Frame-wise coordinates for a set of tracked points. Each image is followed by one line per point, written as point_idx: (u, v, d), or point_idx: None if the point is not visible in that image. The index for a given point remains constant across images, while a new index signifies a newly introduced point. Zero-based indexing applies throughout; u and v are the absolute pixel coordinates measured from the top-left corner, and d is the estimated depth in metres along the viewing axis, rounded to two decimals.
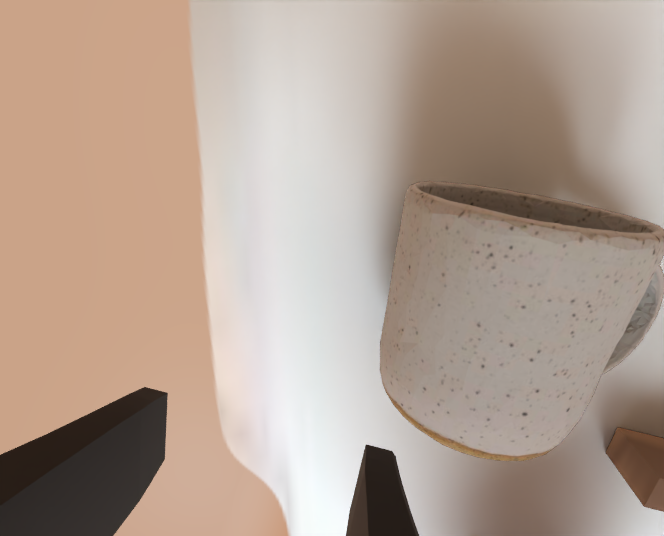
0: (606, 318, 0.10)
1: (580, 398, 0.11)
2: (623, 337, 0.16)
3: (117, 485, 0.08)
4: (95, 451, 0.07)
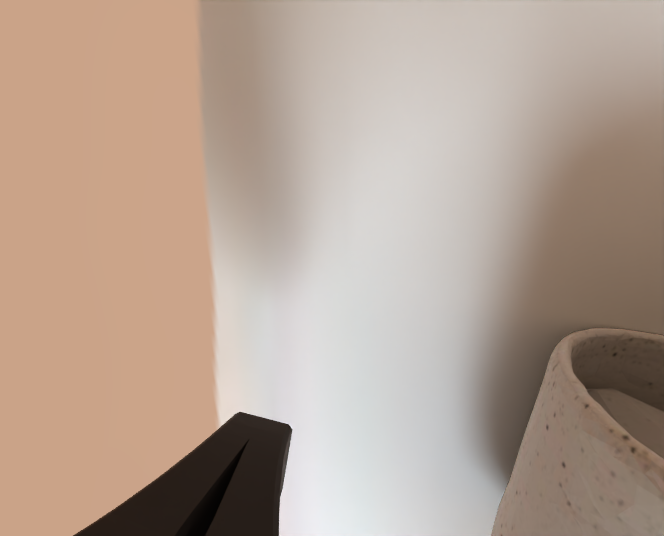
0: None
1: None
2: None
3: None
4: (219, 486, 0.07)
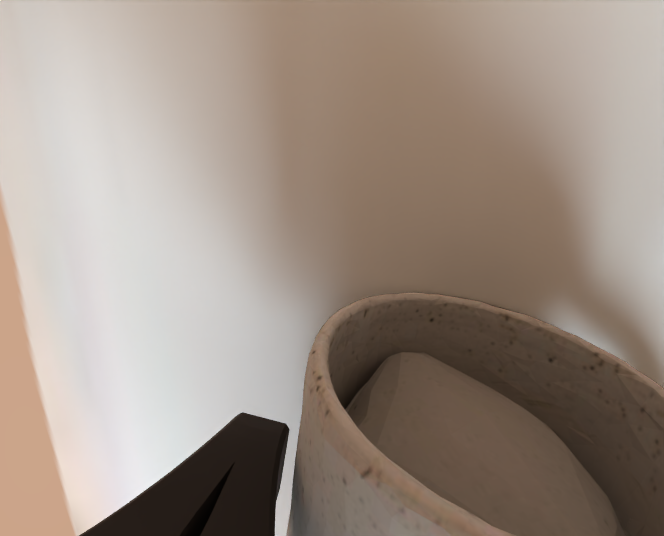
0: None
1: None
2: None
3: None
4: (222, 487, 0.07)
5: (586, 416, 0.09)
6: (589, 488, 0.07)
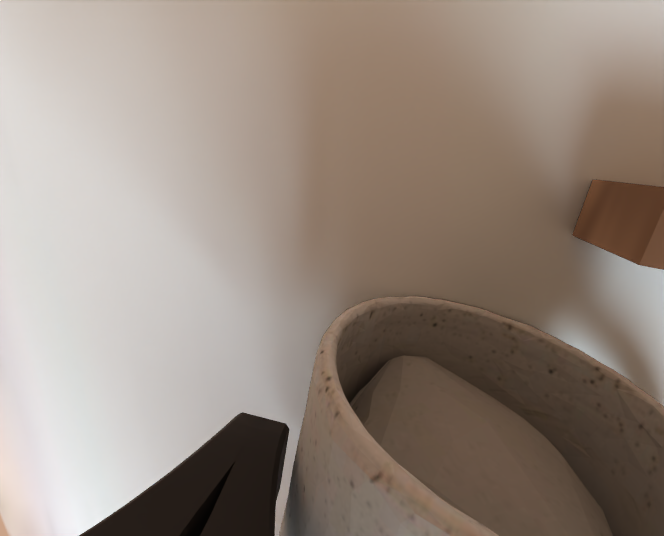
0: None
1: None
2: None
3: None
4: (222, 487, 0.07)
5: (583, 429, 0.10)
6: (586, 501, 0.07)
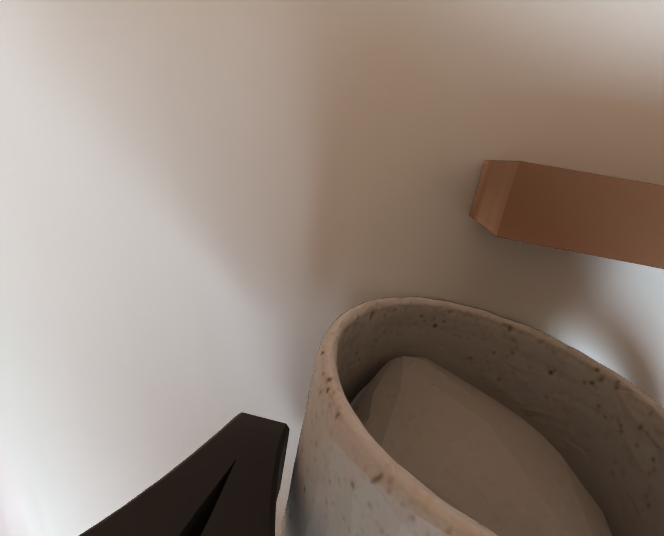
0: None
1: None
2: None
3: None
4: (222, 487, 0.07)
5: (582, 430, 0.10)
6: (585, 502, 0.07)
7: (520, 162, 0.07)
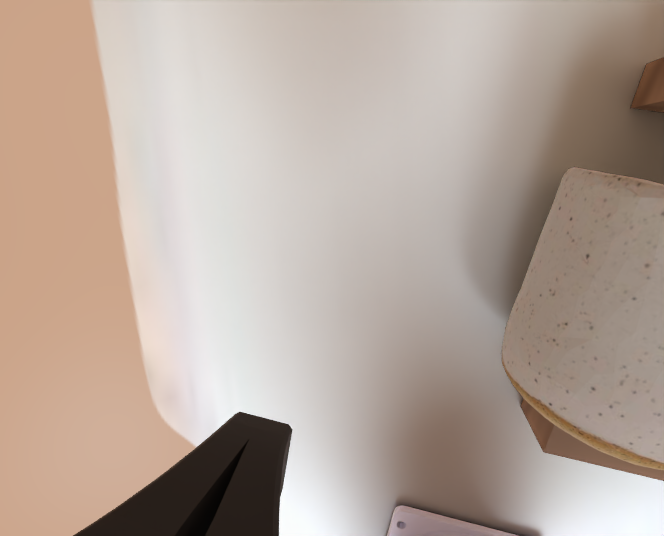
0: None
1: None
2: None
3: None
4: (219, 486, 0.07)
5: None
6: None
7: None
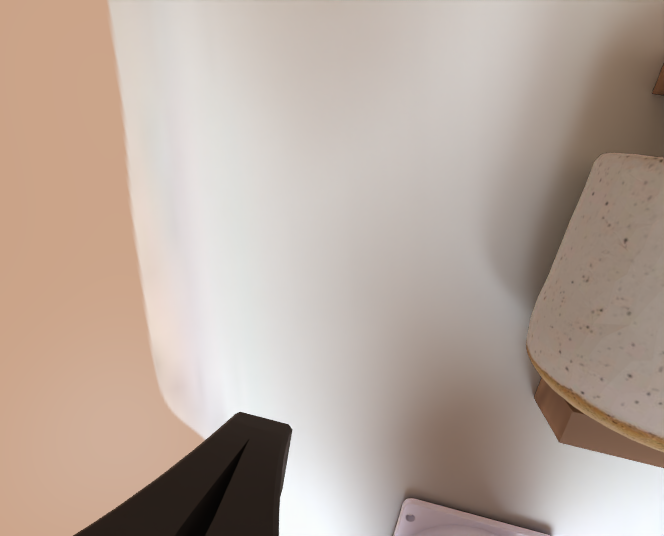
0: None
1: None
2: None
3: None
4: (219, 486, 0.07)
5: None
6: None
7: None
